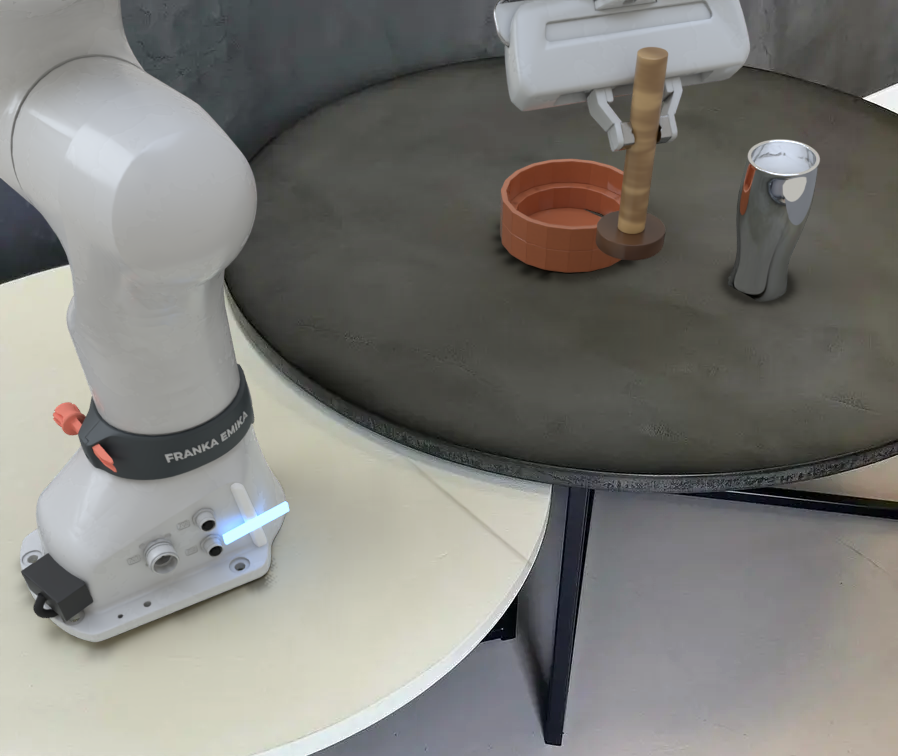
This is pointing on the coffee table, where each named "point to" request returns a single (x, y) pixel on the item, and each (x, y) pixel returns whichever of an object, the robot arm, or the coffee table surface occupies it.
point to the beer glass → (772, 215)
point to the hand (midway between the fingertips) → (645, 144)
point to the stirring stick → (638, 168)
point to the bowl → (559, 213)
